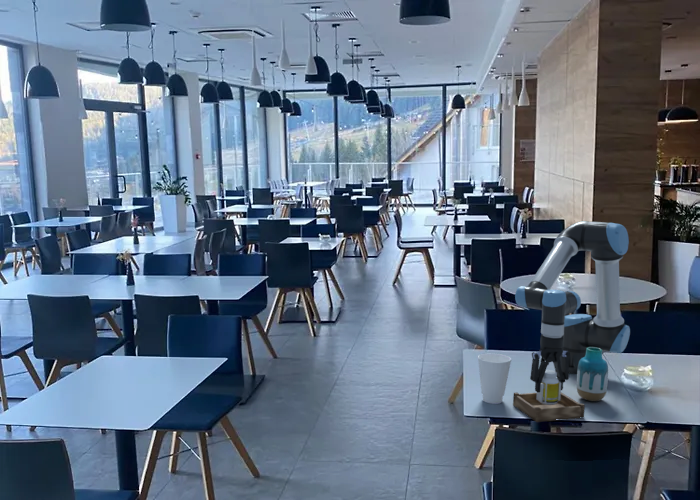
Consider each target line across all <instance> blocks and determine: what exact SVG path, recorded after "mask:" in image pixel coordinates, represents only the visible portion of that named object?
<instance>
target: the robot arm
mask: <svg viewBox="0 0 700 500" xmlns="http://www.w3.org/2000/svg"><path fill="white" fill-rule="evenodd" d="M629 244H630V241H629V234H628V230H627V228H626V227H625V226H624V225H622V224H620V223H614V222H604V221H602V222H601V221H589V220H582V221H577V222H575V223H572V224H571V225H570V226H567V227H566V228H564V229H563V230H562V231H561V232H560V233H559V234H558V235H557V237H556V238H555V239H554V242H553V247H552V248H551V250H550V252H549V253H548V255H547V256H546V258H545V259H544V261H543V263H542V264H541V266H540V267H539V268H538V269H537V272H536V273H535V274H534V276H533V277H532V279H531V280H530V282H529V283H528V285H527V286H526V285H521V286H518V287H517V288H516V292H515V293H514V294H515V295H514V297H515V298H514V299H515V303H516V305H517V306H519V307H523V308H526V309H533V310H540V311H541V327H540V328H541V329H540V333H541V335H540V338H539V339H540V344H539V345H540V349H539V351H537V352H535V351H534V352H532V353H531V358H532V362H531V370H530V376H529V378H530V381H532V382H534V383H535V384H534V385H535V386H534V390H535V393H537V397H536V400H538V401H539V402H542V400H543V383H541V382H542V379H543V377H544V374H545V371H546V370H547V369H548V366H549V364H550V363H553V367H554V371H556V372H557V377H556V378H557V379H558V381H559V384H558V401H560V396H561V393H562V392H561V391H563V389H564V383H566V380H569V378H570V375H571V374H572V375H577V370H578V364H579V361H580V359H581V358H583V357H585V355H586V349H587V348H588V347H596V348H600V349H602V352H608V353H615V354H621V353H623V352H624V351H625V349H626V348H627V345H628V342H629V340H630V335H631V328H630V326H629V325H627V324H625V319H624V318H623V316H621V305H620V303H621V302H620V301H621V300H620V298H621V297H620V296H621V295H620V261H621V260H622V259H623V258H624V255H625V254H626V253H627V252H628V250H629ZM579 251H584V252H590V257H591V259H592V260H593V261H595V263H594V264H595V287H596V288H595V295H596V297H595V298H596V316H594V317H592V315H591V314H590V315H589V314H585V313H576V314H575V312H576V311H577V310H579V309H580V307H581V304H582V300H581V297H580V295H579V294H578V293H577V292H575V291H572V290H567V291H564V290H560V289H552V288H553V286H554V285H555V283H556V281H557V279H558V278H559V277H560V275H561V273H562V272H563V270H564V269H565V267H566V266H567V264H568V263H569V261H570V259H571V258H572V257H574V256H576V255H577V254H578V252H579ZM573 313H574V314H573Z"/></svg>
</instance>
